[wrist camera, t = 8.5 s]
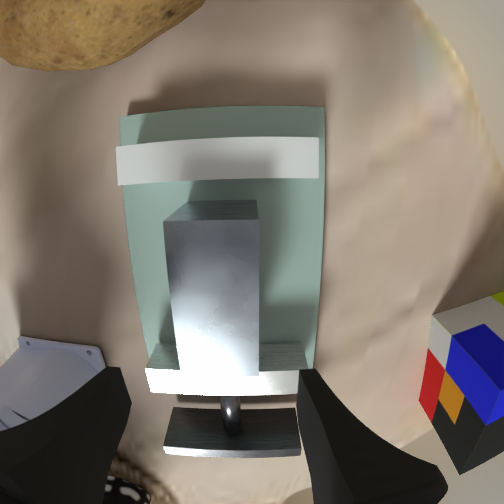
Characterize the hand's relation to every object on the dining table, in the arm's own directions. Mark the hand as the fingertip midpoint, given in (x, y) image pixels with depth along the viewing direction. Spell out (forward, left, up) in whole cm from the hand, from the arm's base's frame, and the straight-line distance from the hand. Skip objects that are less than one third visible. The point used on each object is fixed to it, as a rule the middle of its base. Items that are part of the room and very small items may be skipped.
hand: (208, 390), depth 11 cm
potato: (-6, +19, -10) cm, 22 cm away
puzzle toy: (+22, -7, -10) cm, 25 cm away
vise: (0, +2, -10) cm, 10 cm away
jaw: (0, -8, -9) cm, 12 cm away
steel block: (0, +2, -9) cm, 9 cm away
